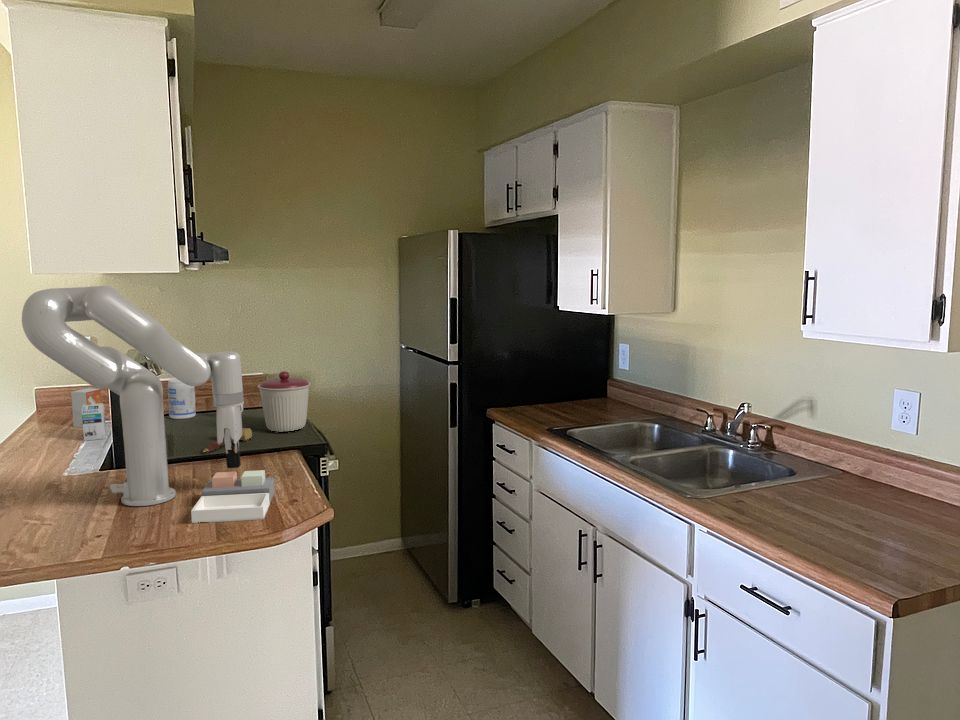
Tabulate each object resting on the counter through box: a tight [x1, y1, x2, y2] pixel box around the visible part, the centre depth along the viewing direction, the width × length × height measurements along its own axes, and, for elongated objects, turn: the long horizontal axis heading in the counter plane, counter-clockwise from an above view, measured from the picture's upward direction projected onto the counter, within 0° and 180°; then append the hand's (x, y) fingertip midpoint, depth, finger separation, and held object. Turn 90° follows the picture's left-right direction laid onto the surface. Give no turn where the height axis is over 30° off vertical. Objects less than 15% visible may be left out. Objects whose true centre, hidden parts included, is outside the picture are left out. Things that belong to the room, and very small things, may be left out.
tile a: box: [211, 471, 238, 488], centre depth 181 cm, size 5×5×2 cm
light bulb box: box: [81, 402, 107, 442], centre depth 247 cm, size 11×7×11 cm, turn 26°
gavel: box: [202, 427, 253, 453], centre depth 234 cm, size 21×5×10 cm
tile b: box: [240, 469, 266, 487], centre depth 182 cm, size 5×5×2 cm
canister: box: [257, 370, 311, 433], centre depth 255 cm, size 18×18×21 cm
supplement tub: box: [167, 377, 197, 420], centre depth 277 cm, size 10×10×15 cm
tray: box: [190, 493, 271, 524], centre depth 172 cm, size 16×10×3 cm, turn 99°
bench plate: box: [201, 476, 276, 504], centre depth 182 cm, size 16×9×4 cm, turn 99°
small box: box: [70, 387, 103, 428], centre depth 265 cm, size 8×6×13 cm
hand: (233, 466), depth 190 cm, fingers closed
